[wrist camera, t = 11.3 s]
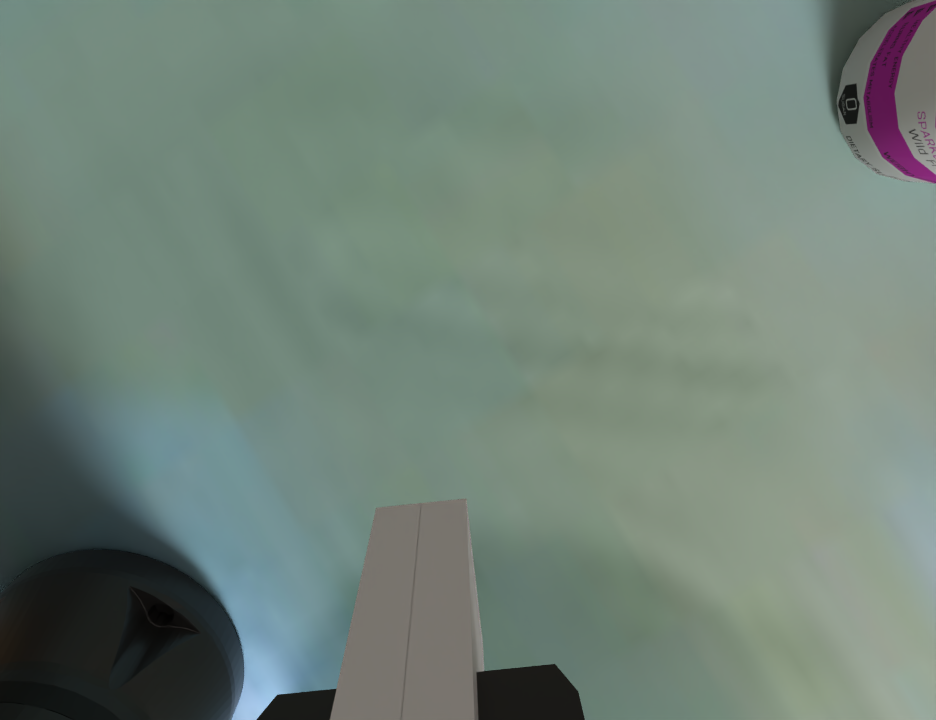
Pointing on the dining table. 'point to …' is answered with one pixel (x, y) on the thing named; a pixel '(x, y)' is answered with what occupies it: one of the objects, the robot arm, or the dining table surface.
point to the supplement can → (893, 94)
